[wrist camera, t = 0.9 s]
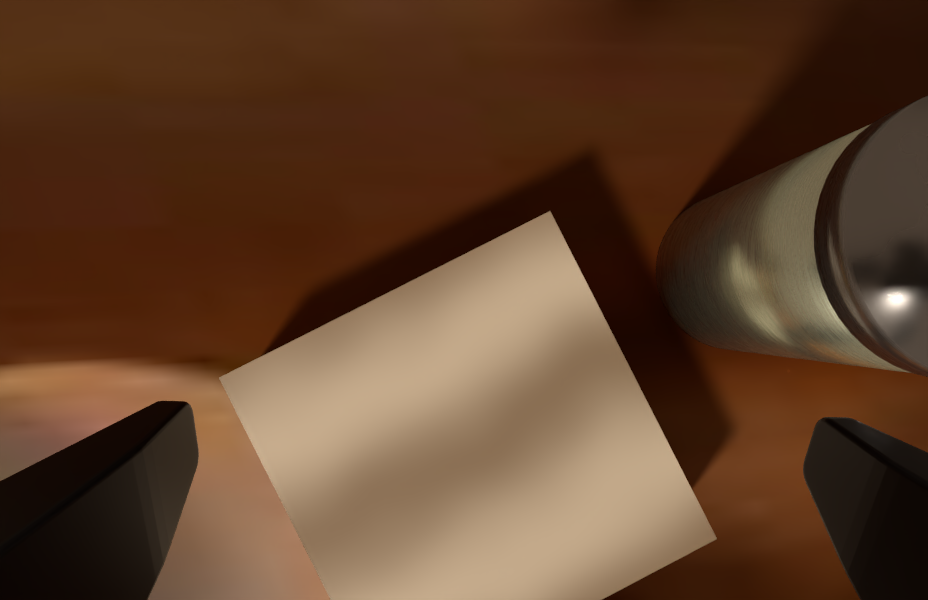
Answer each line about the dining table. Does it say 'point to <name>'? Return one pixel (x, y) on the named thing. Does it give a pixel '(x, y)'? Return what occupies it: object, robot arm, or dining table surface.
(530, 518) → the base block
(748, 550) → the dining table surface
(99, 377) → the dining table surface
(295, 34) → the dining table surface
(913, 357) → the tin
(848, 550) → the robot arm
